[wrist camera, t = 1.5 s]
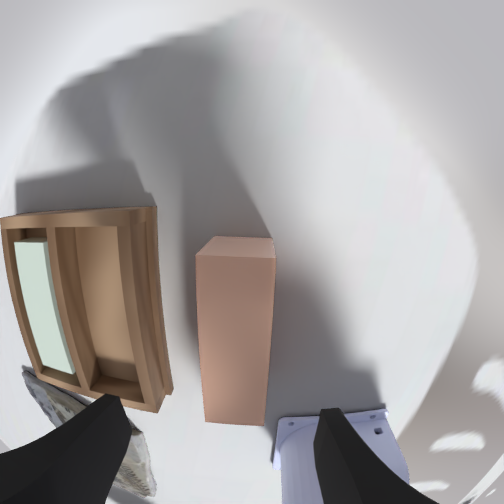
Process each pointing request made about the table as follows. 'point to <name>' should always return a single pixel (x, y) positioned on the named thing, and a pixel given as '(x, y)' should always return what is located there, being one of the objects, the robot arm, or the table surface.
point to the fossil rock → (65, 407)
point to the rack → (100, 300)
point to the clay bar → (235, 326)
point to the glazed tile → (42, 303)
